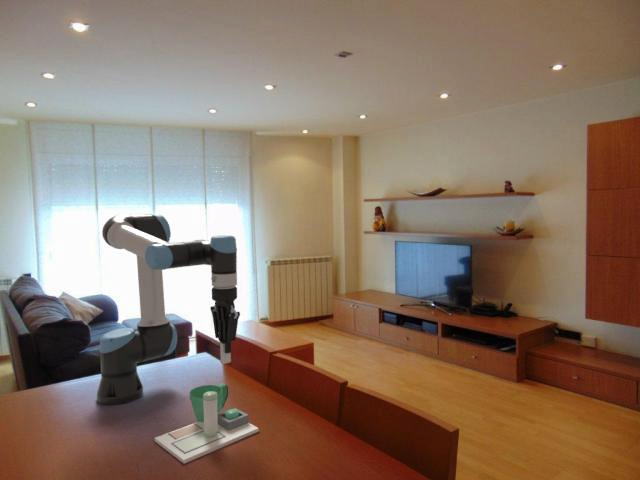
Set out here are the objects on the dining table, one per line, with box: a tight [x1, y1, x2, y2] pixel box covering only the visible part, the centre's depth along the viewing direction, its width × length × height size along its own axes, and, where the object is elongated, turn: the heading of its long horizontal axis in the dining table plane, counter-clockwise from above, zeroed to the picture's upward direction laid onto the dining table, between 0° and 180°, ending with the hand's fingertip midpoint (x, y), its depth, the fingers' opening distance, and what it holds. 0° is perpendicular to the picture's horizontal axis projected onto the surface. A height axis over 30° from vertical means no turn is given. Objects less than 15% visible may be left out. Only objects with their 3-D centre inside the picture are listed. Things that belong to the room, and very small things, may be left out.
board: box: [154, 407, 260, 464], centre depth 134 cm, size 17×24×4 cm
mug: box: [189, 382, 229, 422], centre depth 146 cm, size 15×10×10 cm
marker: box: [203, 391, 219, 437], centre depth 133 cm, size 4×4×12 cm
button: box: [224, 408, 239, 420], centre depth 140 cm, size 4×4×3 cm
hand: (225, 362), depth 143 cm, fingers closed
